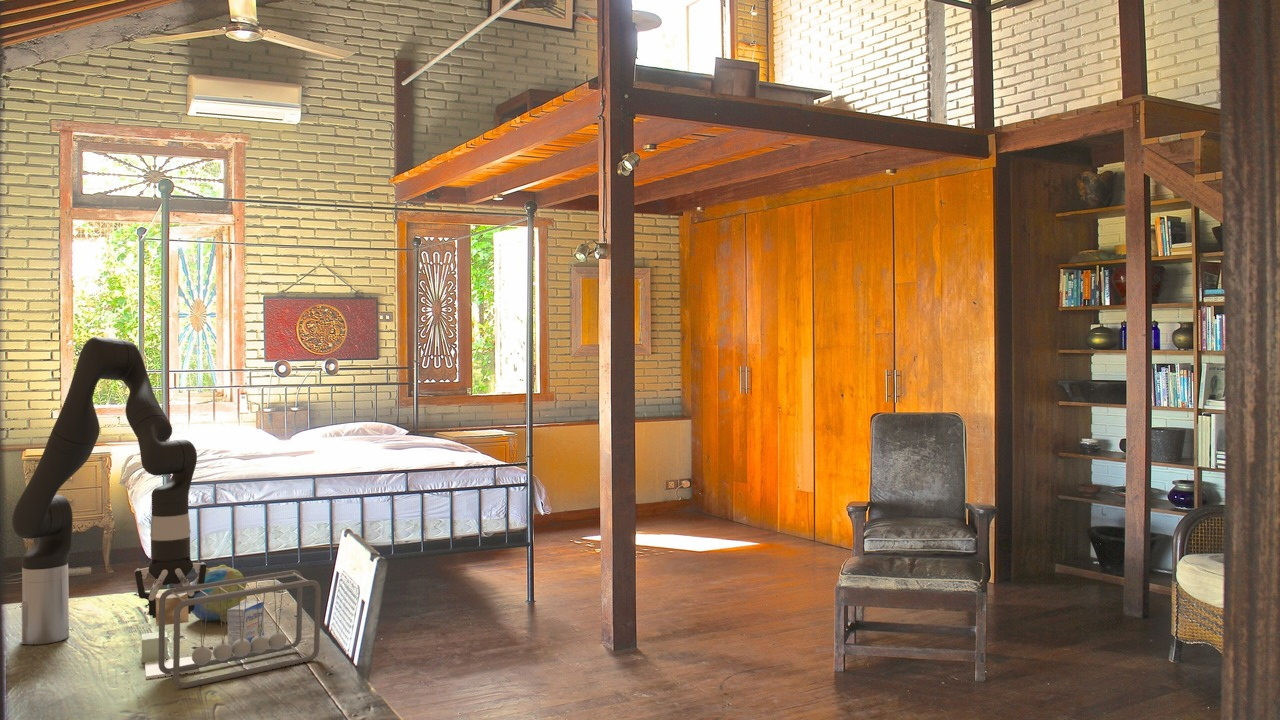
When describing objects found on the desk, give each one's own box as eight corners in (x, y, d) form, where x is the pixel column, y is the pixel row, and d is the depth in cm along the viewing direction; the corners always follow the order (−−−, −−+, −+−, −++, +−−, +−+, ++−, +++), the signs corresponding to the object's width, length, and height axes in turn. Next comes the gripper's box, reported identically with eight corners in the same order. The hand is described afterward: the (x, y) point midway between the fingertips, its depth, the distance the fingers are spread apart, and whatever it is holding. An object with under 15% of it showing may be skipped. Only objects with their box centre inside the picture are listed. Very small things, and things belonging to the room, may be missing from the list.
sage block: (142, 663, 218) (141, 640, 218) (141, 656, 222) (141, 634, 222) (167, 659, 220) (167, 636, 220) (166, 653, 224) (166, 631, 224)
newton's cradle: (173, 691, 199) (175, 603, 198) (157, 675, 207) (158, 589, 206) (320, 660, 219) (321, 579, 218) (300, 646, 227) (301, 567, 226)
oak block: (156, 625, 209) (156, 601, 208) (155, 616, 216) (155, 593, 216) (188, 622, 211) (188, 598, 211) (186, 613, 218) (186, 590, 218)
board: (145, 679, 207) (145, 676, 207) (144, 665, 216) (144, 662, 216) (199, 671, 211) (199, 669, 211) (196, 658, 220) (196, 656, 220)
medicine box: (244, 648, 228) (244, 609, 228) (227, 647, 229) (226, 608, 229) (264, 638, 236) (264, 601, 236) (247, 637, 237) (247, 600, 237)
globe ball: (185, 557, 251) (222, 566, 243) (238, 565, 264) (275, 574, 256) (168, 614, 248) (206, 625, 240) (223, 619, 261) (260, 630, 253)
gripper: (206, 529, 220) (207, 607, 220) (132, 535, 213) (133, 615, 214) (209, 535, 213) (210, 615, 213) (132, 541, 207) (133, 624, 207)
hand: (171, 614), depth 213 cm, fingers closed on oak block, 6 cm apart
